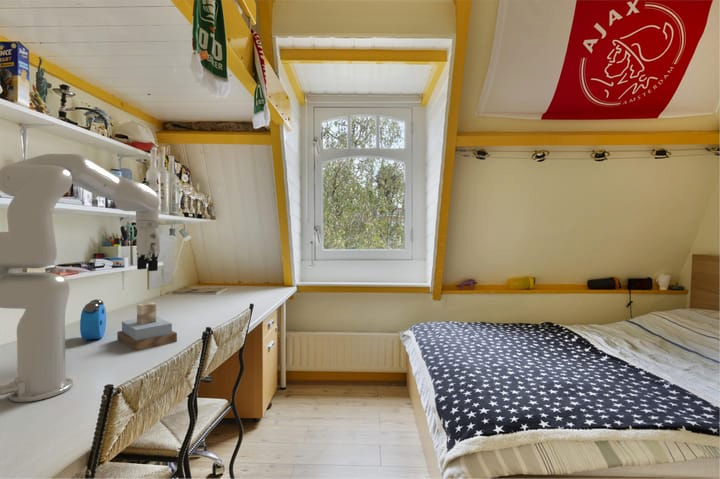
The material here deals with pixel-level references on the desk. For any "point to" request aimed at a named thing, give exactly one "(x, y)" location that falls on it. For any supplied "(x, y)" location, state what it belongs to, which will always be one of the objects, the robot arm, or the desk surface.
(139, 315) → the beech block
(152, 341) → the walnut slab
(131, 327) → the slate slab
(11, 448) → the desk surface
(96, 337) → the alarm clock
